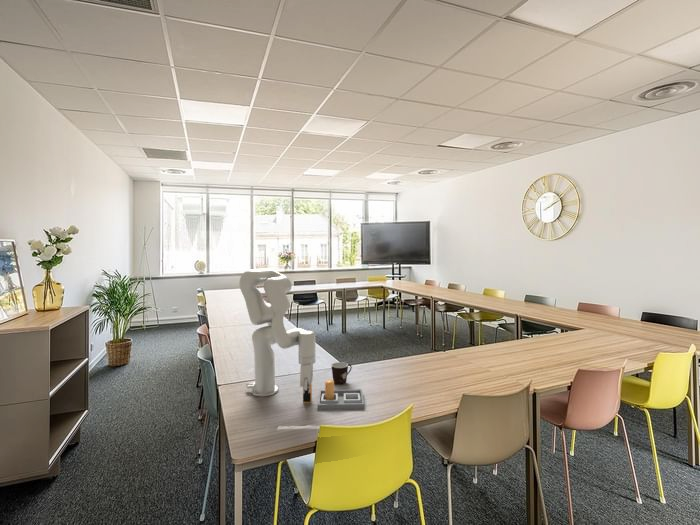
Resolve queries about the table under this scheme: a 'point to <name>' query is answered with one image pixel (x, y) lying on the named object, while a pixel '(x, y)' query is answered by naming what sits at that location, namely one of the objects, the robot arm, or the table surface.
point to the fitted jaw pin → (329, 390)
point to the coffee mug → (340, 372)
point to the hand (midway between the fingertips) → (307, 398)
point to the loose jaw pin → (311, 394)
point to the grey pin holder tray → (341, 400)
